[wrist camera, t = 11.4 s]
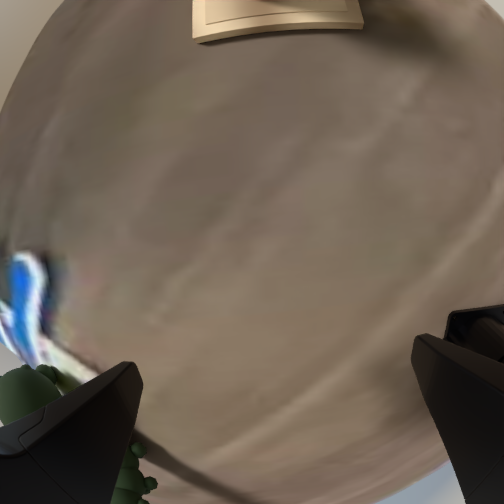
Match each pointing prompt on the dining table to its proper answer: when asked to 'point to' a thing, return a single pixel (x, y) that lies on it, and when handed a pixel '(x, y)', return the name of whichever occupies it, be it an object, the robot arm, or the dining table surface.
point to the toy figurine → (44, 392)
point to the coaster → (271, 16)
